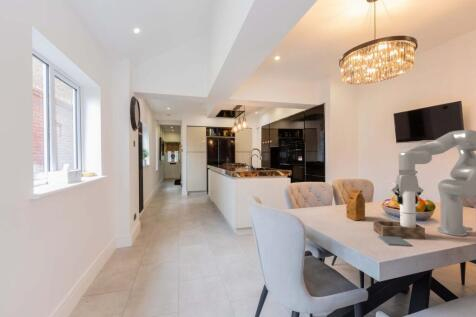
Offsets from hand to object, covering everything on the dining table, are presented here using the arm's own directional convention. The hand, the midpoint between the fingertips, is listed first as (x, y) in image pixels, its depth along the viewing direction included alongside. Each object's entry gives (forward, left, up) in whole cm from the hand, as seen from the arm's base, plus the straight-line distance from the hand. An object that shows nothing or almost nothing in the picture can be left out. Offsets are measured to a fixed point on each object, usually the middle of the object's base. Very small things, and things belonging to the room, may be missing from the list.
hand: (407, 203), depth 125 cm
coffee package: (+17, -31, -19) cm, 40 cm away
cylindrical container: (0, 0, -18) cm, 18 cm away
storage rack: (+5, 0, -18) cm, 19 cm away
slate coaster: (+13, +12, -18) cm, 26 cm away
